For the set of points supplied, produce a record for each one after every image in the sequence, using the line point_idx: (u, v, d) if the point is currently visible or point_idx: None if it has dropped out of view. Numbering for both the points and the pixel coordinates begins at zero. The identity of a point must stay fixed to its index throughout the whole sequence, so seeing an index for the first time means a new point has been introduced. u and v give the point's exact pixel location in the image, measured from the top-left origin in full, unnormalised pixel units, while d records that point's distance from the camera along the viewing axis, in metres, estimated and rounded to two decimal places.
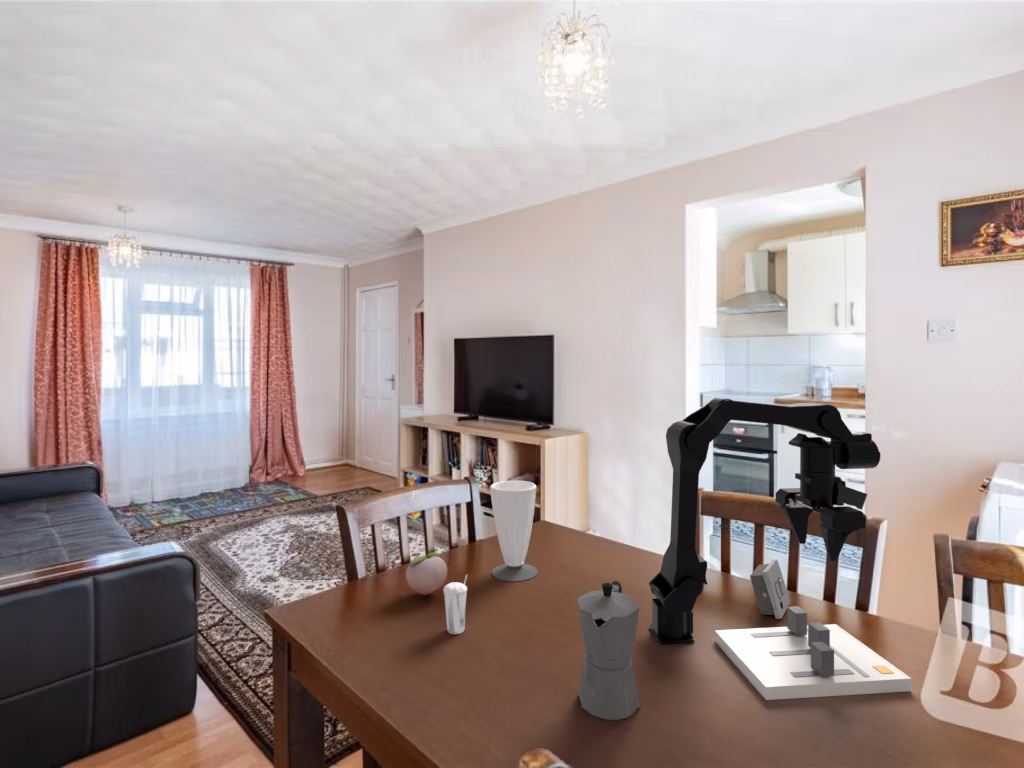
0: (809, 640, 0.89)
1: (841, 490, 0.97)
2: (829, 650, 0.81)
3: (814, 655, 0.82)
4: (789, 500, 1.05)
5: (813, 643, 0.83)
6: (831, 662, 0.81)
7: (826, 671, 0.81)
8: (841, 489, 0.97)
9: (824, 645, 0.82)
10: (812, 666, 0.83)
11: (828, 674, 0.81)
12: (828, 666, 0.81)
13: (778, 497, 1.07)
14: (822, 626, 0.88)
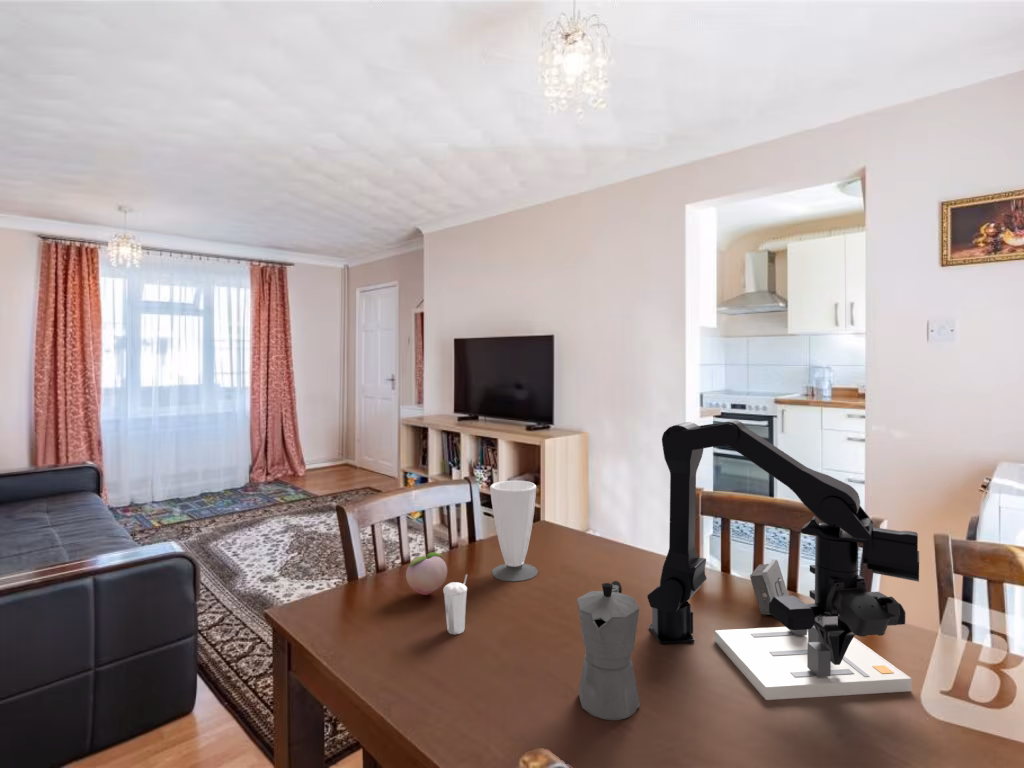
0: (809, 640, 0.89)
1: (831, 594, 0.79)
2: (826, 650, 0.81)
3: (811, 655, 0.82)
4: None
5: (810, 643, 0.83)
6: (827, 662, 0.81)
7: (823, 671, 0.81)
8: (831, 593, 0.79)
9: (821, 645, 0.82)
10: (809, 666, 0.83)
11: (825, 674, 0.81)
12: (825, 666, 0.81)
13: None
14: None
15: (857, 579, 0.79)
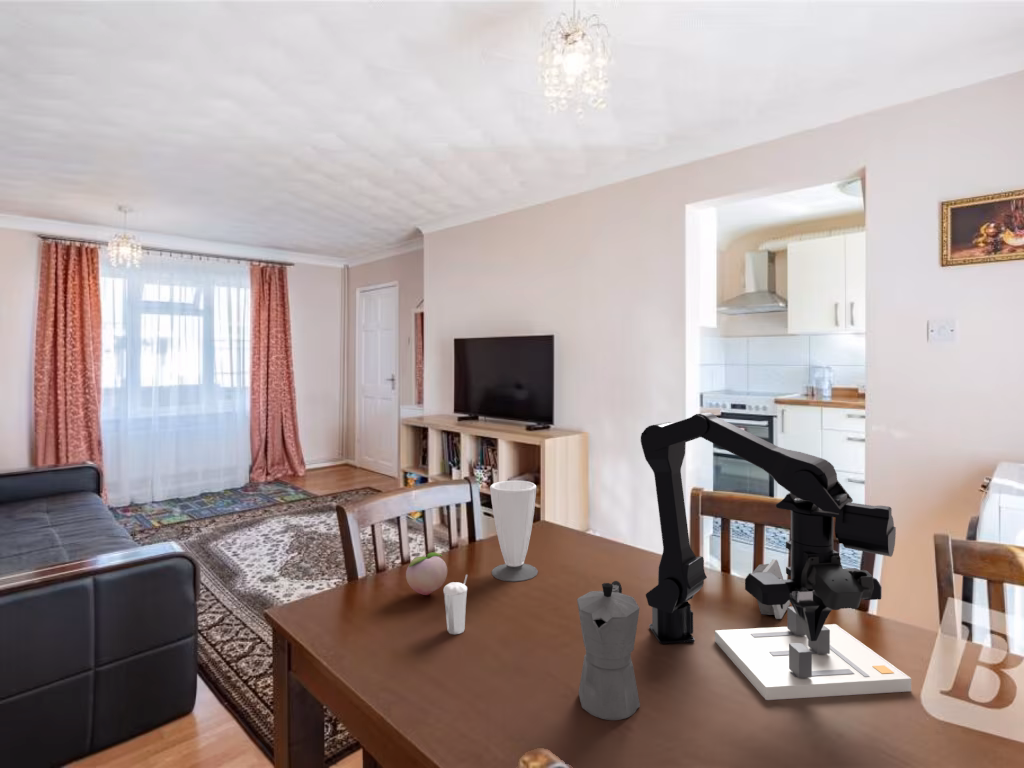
0: (809, 640, 0.89)
1: (805, 569, 0.78)
2: (807, 651, 0.81)
3: (792, 656, 0.82)
4: None
5: (791, 644, 0.83)
6: (808, 663, 0.81)
7: (804, 672, 0.81)
8: (806, 568, 0.78)
9: (802, 646, 0.82)
10: (790, 667, 0.83)
11: (806, 675, 0.81)
12: (806, 667, 0.81)
13: None
14: None
15: (832, 554, 0.78)
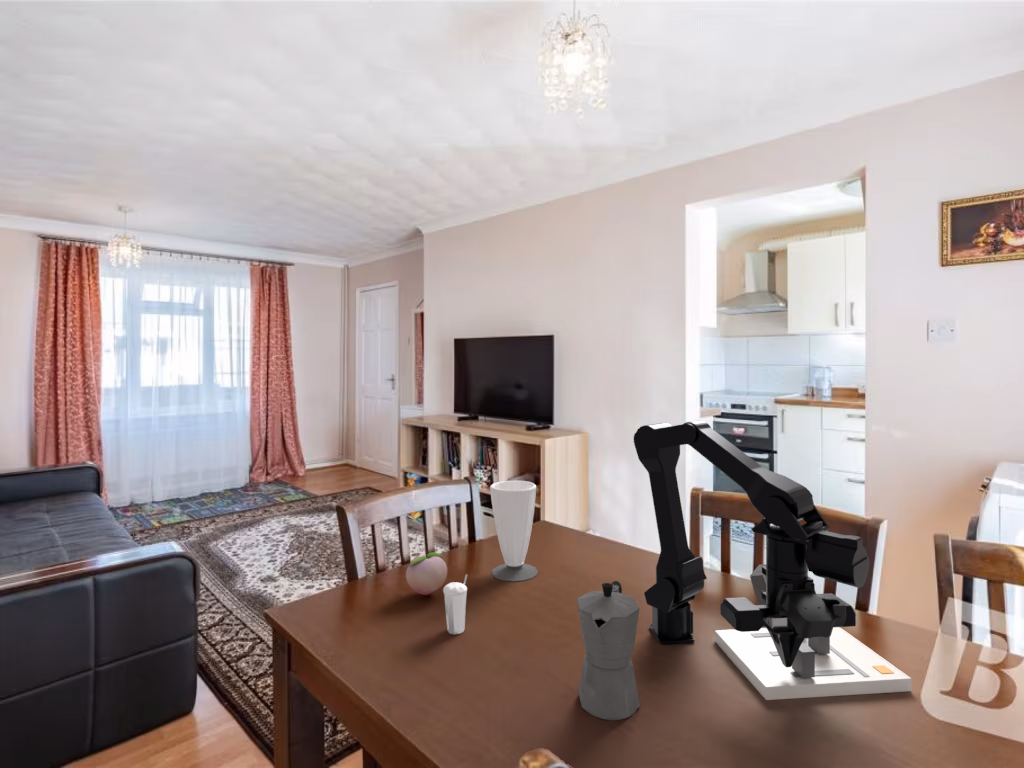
0: (809, 640, 0.89)
1: (779, 596, 0.78)
2: (810, 651, 0.81)
3: None
4: None
5: None
6: (811, 663, 0.81)
7: (807, 672, 0.81)
8: (780, 595, 0.78)
9: (805, 646, 0.82)
10: (793, 667, 0.83)
11: (809, 675, 0.81)
12: (809, 667, 0.81)
13: None
14: None
15: (806, 580, 0.78)
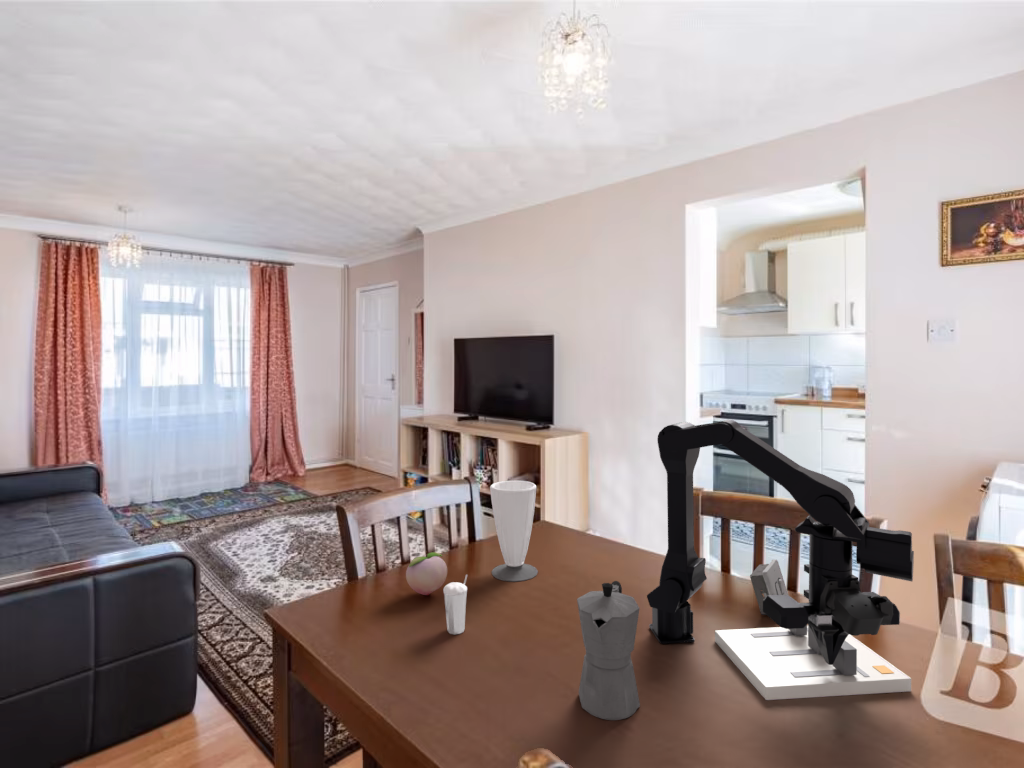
0: (809, 640, 0.89)
1: (824, 593, 0.79)
2: (852, 649, 0.81)
3: None
4: None
5: None
6: (853, 661, 0.81)
7: (849, 670, 0.81)
8: (825, 592, 0.79)
9: (846, 644, 0.82)
10: (834, 665, 0.83)
11: (851, 673, 0.81)
12: (851, 665, 0.81)
13: None
14: None
15: (851, 578, 0.79)
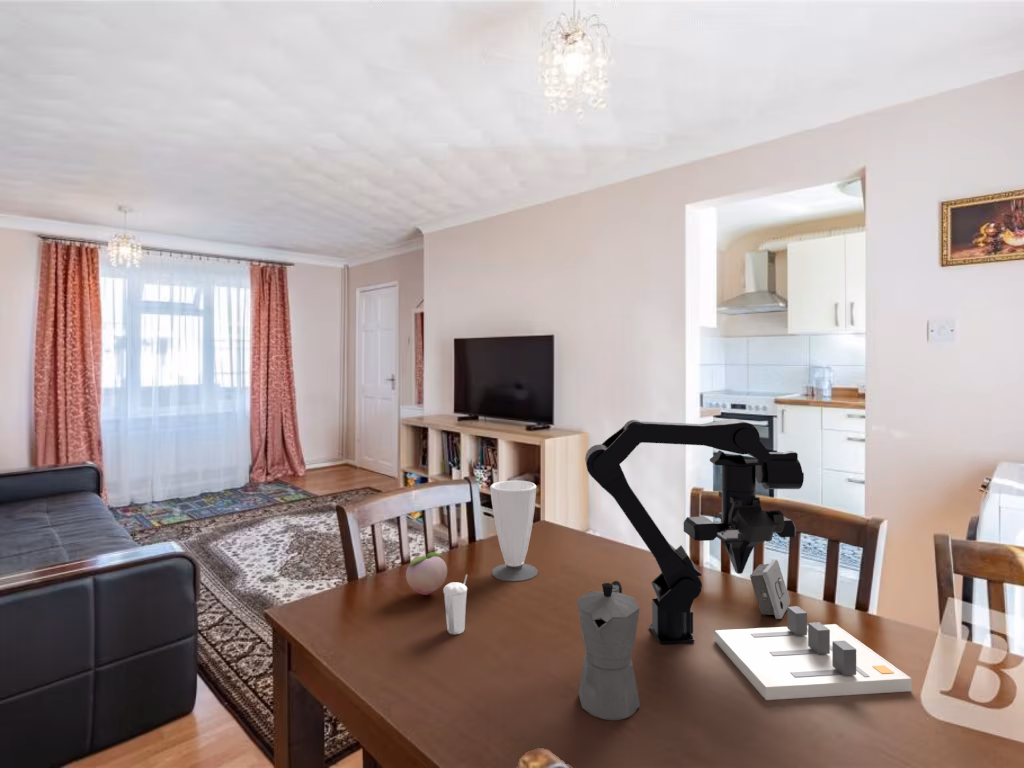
0: (809, 640, 0.89)
1: (731, 511, 0.93)
2: (851, 649, 0.81)
3: (836, 654, 0.83)
4: None
5: (835, 642, 0.83)
6: (853, 661, 0.81)
7: (848, 670, 0.81)
8: (731, 510, 0.93)
9: (846, 644, 0.82)
10: (834, 665, 0.83)
11: (850, 673, 0.81)
12: (850, 665, 0.81)
13: None
14: (822, 626, 0.88)
15: (753, 498, 0.94)
